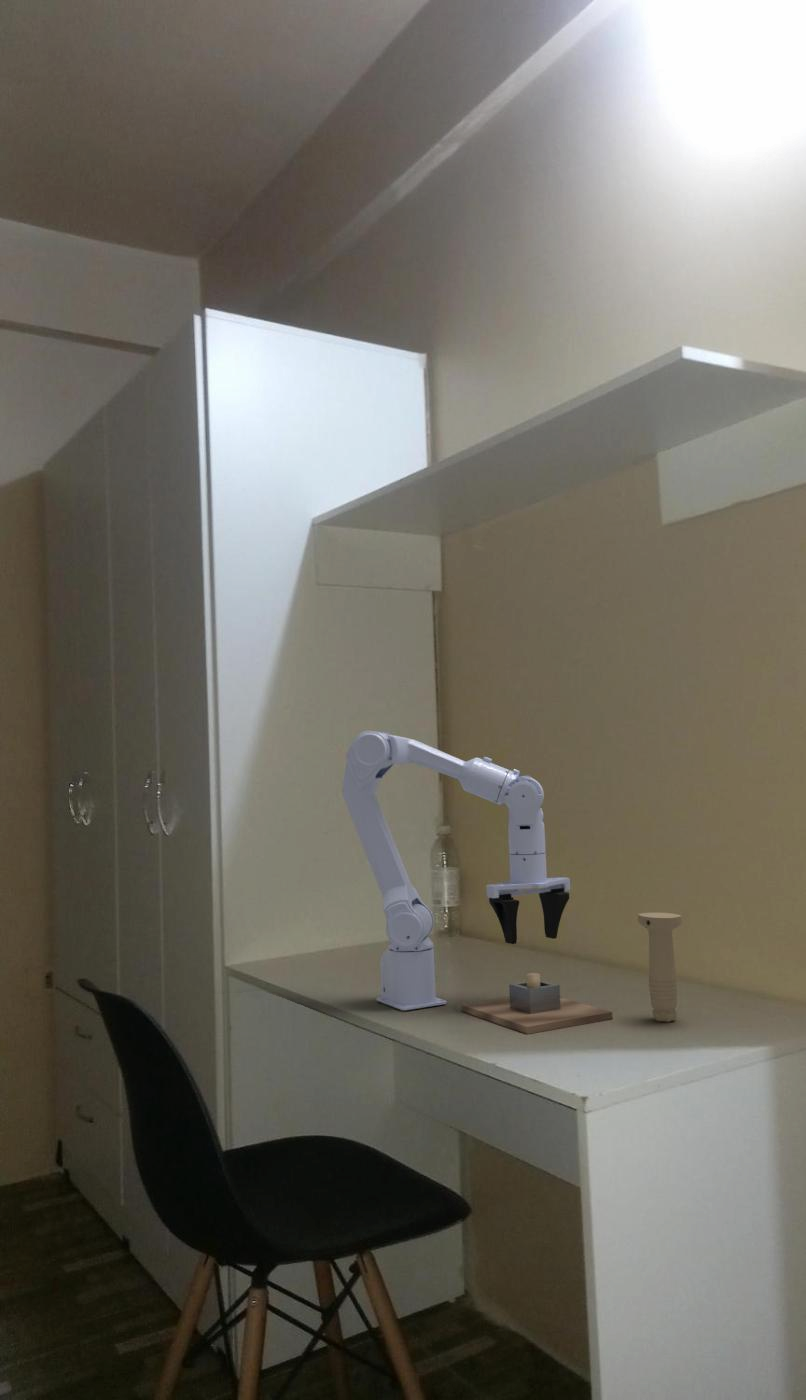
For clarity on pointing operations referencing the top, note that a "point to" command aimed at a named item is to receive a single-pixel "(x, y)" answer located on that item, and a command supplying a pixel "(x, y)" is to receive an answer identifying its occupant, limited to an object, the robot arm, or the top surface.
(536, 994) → the collar
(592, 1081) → the top surface
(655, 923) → the handle
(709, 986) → the top surface
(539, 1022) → the board
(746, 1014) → the top surface
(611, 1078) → the top surface
